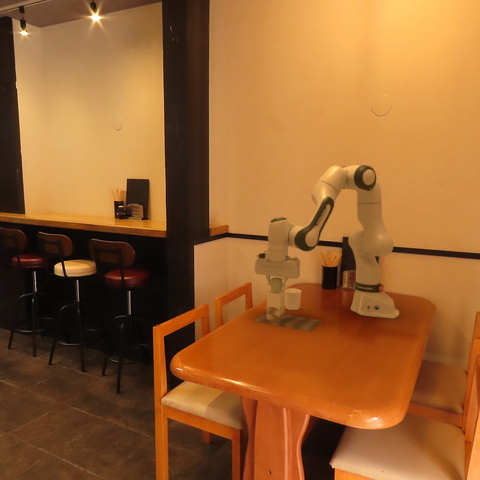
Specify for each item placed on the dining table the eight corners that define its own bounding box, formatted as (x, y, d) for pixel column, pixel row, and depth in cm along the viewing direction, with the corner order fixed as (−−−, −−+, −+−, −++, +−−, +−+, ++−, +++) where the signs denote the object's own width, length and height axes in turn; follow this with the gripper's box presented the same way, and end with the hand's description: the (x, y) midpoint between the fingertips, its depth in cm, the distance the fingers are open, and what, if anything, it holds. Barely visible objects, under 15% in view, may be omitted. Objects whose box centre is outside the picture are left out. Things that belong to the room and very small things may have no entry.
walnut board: (322, 323, 183) (322, 320, 183) (311, 335, 169) (311, 332, 169) (267, 314, 195) (268, 311, 195) (253, 324, 181) (253, 321, 181)
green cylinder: (283, 289, 184) (283, 278, 183) (279, 291, 179) (279, 280, 179) (273, 287, 186) (273, 276, 185) (269, 290, 182) (269, 279, 181)
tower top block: (284, 304, 185) (285, 291, 184) (279, 308, 180) (280, 294, 179) (272, 302, 188) (272, 289, 187) (266, 306, 182) (267, 292, 182)
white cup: (300, 308, 205) (300, 288, 203) (300, 313, 197) (301, 293, 195) (283, 307, 205) (284, 288, 204) (284, 312, 198) (284, 292, 196)
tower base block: (284, 317, 186) (284, 304, 185) (279, 321, 181) (279, 308, 180) (271, 315, 189) (272, 302, 188) (266, 319, 183) (266, 306, 182)
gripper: (302, 256, 179) (301, 287, 181) (259, 251, 188) (258, 281, 190) (297, 258, 173) (296, 291, 175) (253, 253, 182) (252, 284, 184)
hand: (276, 286), depth 182 cm, fingers closed on green cylinder, 4 cm apart
